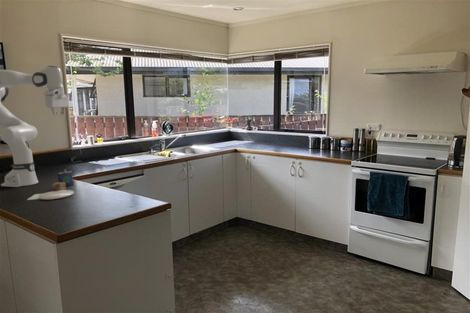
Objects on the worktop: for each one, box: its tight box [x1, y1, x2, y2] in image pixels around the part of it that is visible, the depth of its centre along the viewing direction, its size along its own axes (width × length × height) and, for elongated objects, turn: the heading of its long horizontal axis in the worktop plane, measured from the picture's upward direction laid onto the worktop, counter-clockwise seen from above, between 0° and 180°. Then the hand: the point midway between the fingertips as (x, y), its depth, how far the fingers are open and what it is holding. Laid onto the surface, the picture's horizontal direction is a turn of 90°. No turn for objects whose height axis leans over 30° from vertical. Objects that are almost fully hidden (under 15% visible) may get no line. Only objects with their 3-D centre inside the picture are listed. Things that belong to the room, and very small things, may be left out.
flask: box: [57, 169, 74, 188], centre depth 228 cm, size 9×3×11 cm, turn 144°
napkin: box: [26, 193, 42, 201], centre depth 205 cm, size 8×12×1 cm, turn 10°
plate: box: [39, 189, 75, 200], centre depth 205 cm, size 18×18×1 cm
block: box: [52, 181, 67, 191], centre depth 216 cm, size 5×5×5 cm
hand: (59, 114), depth 227 cm, fingers open, 8 cm apart
